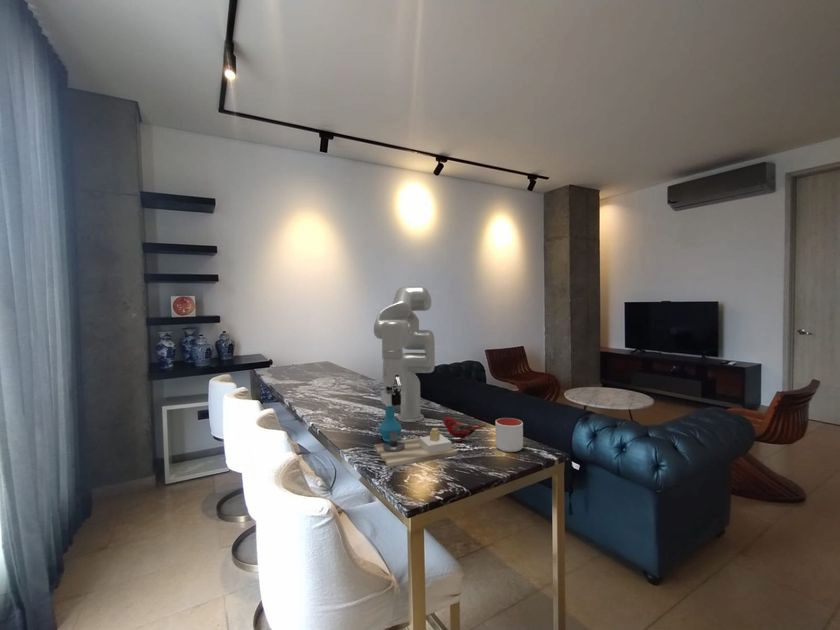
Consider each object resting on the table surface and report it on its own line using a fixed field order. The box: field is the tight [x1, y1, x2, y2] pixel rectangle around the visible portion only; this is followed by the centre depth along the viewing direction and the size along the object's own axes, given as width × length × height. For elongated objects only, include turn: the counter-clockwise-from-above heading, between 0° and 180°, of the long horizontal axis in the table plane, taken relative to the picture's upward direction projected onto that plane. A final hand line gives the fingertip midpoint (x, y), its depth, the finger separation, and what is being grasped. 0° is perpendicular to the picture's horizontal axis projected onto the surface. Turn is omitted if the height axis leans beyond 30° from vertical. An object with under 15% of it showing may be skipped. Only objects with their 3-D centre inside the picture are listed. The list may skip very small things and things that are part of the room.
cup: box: [495, 417, 524, 453], centre depth 143 cm, size 10×10×10 cm
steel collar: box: [380, 388, 405, 407], centre depth 140 cm, size 7×7×4 cm
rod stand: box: [383, 431, 405, 452], centre depth 140 cm, size 8×8×6 cm
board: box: [373, 437, 458, 468], centre depth 140 cm, size 18×26×2 cm
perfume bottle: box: [378, 404, 402, 443], centre depth 154 cm, size 9×9×15 cm
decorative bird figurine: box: [442, 416, 487, 443], centre depth 150 cm, size 3×18×10 cm, turn 95°
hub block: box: [418, 427, 452, 454], centre depth 140 cm, size 9×9×7 cm
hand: (393, 402), depth 140 cm, fingers closed on steel collar, 7 cm apart
